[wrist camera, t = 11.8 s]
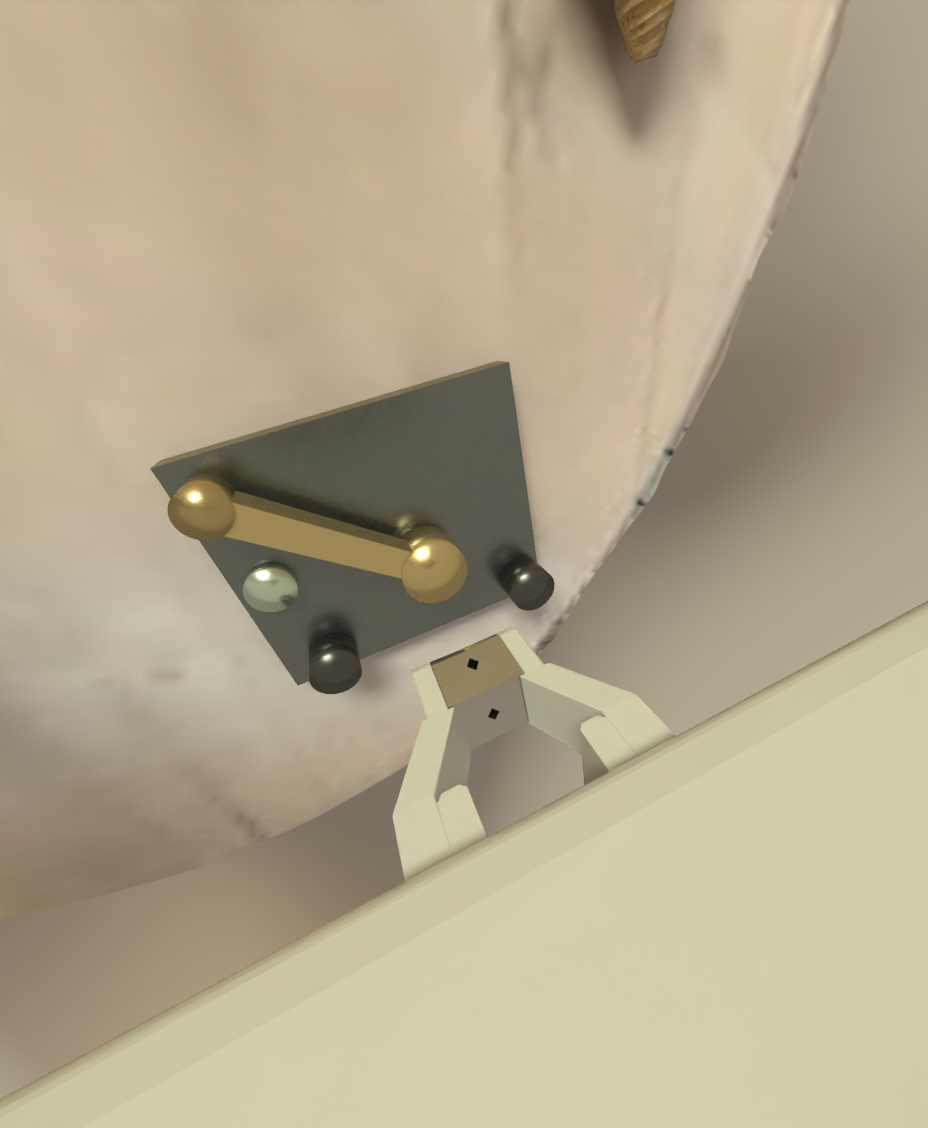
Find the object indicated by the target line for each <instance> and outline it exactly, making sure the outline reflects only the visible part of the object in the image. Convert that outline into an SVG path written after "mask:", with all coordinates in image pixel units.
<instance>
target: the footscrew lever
mask: <svg viewBox="0 0 928 1128" xmlns="http://www.w3.org/2000/svg"><path fill="white" fill-rule="evenodd" d="M168 516H169V519H170V521H171V523H172V524H173V525H174V527H175V528H176V529H177V530H179V531H180V532H181V533H183V534H184V535H186V536H188V537H191V538H193V539H197V540H214V539H218V538H221V537H222V536H225V537H229V538H233V539H237V540H242V541H246V542H250V543H254V544H258V545H263V546H267V547H271V548H275V549H279V550H284V551H288V552H292V553H296V554H300V555H305V556H309V557H313V558H317V559H321V560H326V561H330V562H334V563H338V564H342V565H346V566H351V567H355V568H359V569H363V570H367V571H372V572H376V573H380V574H384V575H388V576H393V577H397V578H401V580H402V582H403V584H404V587H405V589H406V591H407V593H408V594H409V595H410V596H411V597H412V598H414V599H415V600H417V601H419V602H423V603H438V602H442V601H444V600H447V599H448V598H450V597H452V596H453V595H455V594H456V593H457V592H458V591H459V590H460V588H461V587H462V586H463V584H464V582H465V580H466V577H467V572H468V567H467V562H466V559H465V557H464V555H463V554H462V553H461V551H460V550H459V549H458V548H457V546H456V545H455V544H454V543H453V541H452V540H451V539H450V537H449V536H448V535H447V534H446V533H445V532H444V531H443V530H441V529H439V528H437V527H434V526H419V527H416V528H413V529H411V530H410V531H408V532H407V533H405V534H404V535H403V536H402V537H401V538H397V537H393V536H390V535H387V534H383V533H380V532H376V531H373V530H369V529H366V528H363V527H359V526H356V525H352V524H349V523H345V522H342V521H338V520H335V519H332V518H328V517H325V516H321V515H318V514H314V513H311V512H308V511H304V510H301V509H297V508H294V507H290V506H287V505H284V504H280V503H277V502H273V501H270V500H266V499H263V498H260V497H256V496H253V495H249V494H246V493H242V492H239V491H237V490H236V489H235V487H234V486H233V485H232V484H231V483H230V482H228V481H227V480H225V479H223V478H221V477H219V476H215V475H210V474H201V475H196V476H193V477H191V478H190V479H188V480H187V481H186V482H185V483H184V484H183V485H182V486H181V487H180V489H179V490H178V491H177V492H176V493H175V494H174V495H173V497H172V498H171V499H170V501H169V504H168Z"/></svg>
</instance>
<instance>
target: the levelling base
mask: <svg viewBox="0 0 928 1128" xmlns="http://www.w3.org/2000/svg"><path fill="white" fill-rule="evenodd" d="M150 469H151V470H152V472H153V473H154V475H155V476H156V477H157V479H158V480H159V482H160V483H161V485H162V486H163V488H164V489H165V491H166V492H167V494H168V495H169V497H170V498H172V497H173V495H174V494H175V493H176V492H177V491H178V490H179V489H180V487H181V486H182V485H183V484H184V483H185V482H186V481H187V480H188V479H190V478H191V477H193V476H196V475H201V474H210V475H215V476H219V477H221V478H223V479H225V480H227V481H228V482H230V483H231V484H232V485H233V486H234V487H235V489H236V490H237V491H239V492H242V493H246V494H249V495H253V496H256V497H260V498H263V499H266V500H270V501H273V502H277V503H280V504H284V505H287V506H290V507H294V508H297V509H301V510H304V511H308V512H311V513H314V514H318V515H321V516H325V517H328V518H332V519H335V520H338V521H342V522H345V523H349V524H352V525H356V526H359V527H363V528H366V529H369V530H373V531H376V532H380V533H383V534H387V535H390V536H393V537H397V538H401V537H402V536H403V535H404V534H405V533H407V532H408V531H410V530H411V529H413V528H416V527H419V526H434V527H437V528H439V529H441V530H443V531H444V532H445V533H446V534H447V535H448V536H449V537H450V539H451V540H452V541H453V543H454V544H455V545H456V546H457V548H458V549H459V550H460V551H461V553H462V554H463V555H464V557H465V559H466V562H467V567H468V572H467V577H466V580H465V582H464V584H463V586H462V587H461V588H460V590H459V591H458V592H457V593H456V594H455V595H453V596H452V597H450V598H448V599H447V600H444V601H442V602H438V603H423V602H419V601H417V600H415V599H414V598H412V597H411V596H410V595H409V594H408V593H407V591H406V589H405V587H404V584H403V582H402V580H401V578H397V577H393V576H388V575H384V574H380V573H376V572H372V571H367V570H363V569H359V568H355V567H351V566H346V565H342V564H338V563H334V562H330V561H326V560H321V559H317V558H313V557H309V556H305V555H300V554H296V553H292V552H288V551H284V550H279V549H275V548H271V547H267V546H263V545H258V544H254V543H250V542H246V541H242V540H237V539H233V538H229V537H225V536H222V537H221V538H218V539H214V540H199V541H200V542H201V544H202V545H203V547H204V548H205V550H206V551H207V553H208V554H209V555H210V557H211V558H212V560H213V561H214V563H215V564H216V566H217V567H218V569H219V570H220V572H221V573H222V575H223V576H224V578H225V579H226V580H227V582H228V583H229V585H230V586H231V588H232V589H233V591H234V592H235V594H236V595H237V597H238V598H239V600H240V601H241V603H242V604H243V606H244V607H245V608H246V610H247V611H248V613H249V614H250V616H251V617H252V619H253V620H254V622H255V623H256V625H257V626H258V628H259V629H260V631H261V632H262V633H263V635H264V636H265V638H266V639H267V641H268V642H269V644H270V645H271V647H272V648H273V650H274V651H275V653H276V654H277V656H278V657H279V659H280V660H281V661H282V663H283V664H284V666H285V667H286V669H287V670H288V672H289V673H290V675H291V676H292V678H293V679H294V681H295V682H296V684H297V685H300V684H303V683H305V682H307V681H310V684H311V686H312V687H313V688H314V689H315V690H317V691H319V692H321V693H325V694H337V693H341V692H344V691H347V690H349V689H350V688H352V687H353V686H354V685H355V684H356V683H357V682H358V681H359V679H360V677H361V673H362V669H361V664H360V659H362V658H365V657H367V656H369V655H372V654H374V653H377V652H379V651H381V650H384V649H386V648H389V647H391V646H393V645H396V644H398V643H401V642H403V641H405V640H408V639H410V638H412V637H415V636H417V635H420V634H422V633H424V632H427V631H429V630H432V629H434V628H436V627H439V626H441V625H444V624H446V623H448V622H451V621H453V620H455V619H458V618H460V617H463V616H465V615H467V614H470V613H472V612H475V611H477V610H479V609H482V608H484V607H487V606H489V605H491V604H494V603H496V602H498V601H501V600H503V599H506V598H508V597H510V598H511V599H512V600H513V602H514V603H515V604H516V605H517V606H518V607H519V608H520V609H522V610H527V611H528V610H534V609H537V608H539V607H541V606H542V605H544V604H545V603H546V602H547V601H548V600H549V598H550V597H551V595H552V593H553V591H554V580H553V578H552V576H551V575H550V574H549V573H548V572H546V571H545V570H544V569H543V568H542V567H541V566H540V565H539V564H538V563H537V560H536V553H535V545H534V538H533V531H532V524H531V517H530V510H529V502H528V495H527V488H526V481H525V474H524V466H523V459H522V452H521V445H520V438H519V431H518V423H517V416H516V409H515V402H514V395H513V388H512V380H511V373H510V366H509V362H501V361H497V362H493V363H490V364H486V365H483V366H480V367H476V368H473V369H469V370H466V371H463V372H459V373H456V374H452V375H449V376H446V377H442V378H439V379H435V380H432V381H429V382H425V383H422V384H419V385H415V386H412V387H408V388H405V389H402V390H398V391H395V392H391V393H388V394H385V395H381V396H378V397H374V398H371V399H368V400H364V401H361V402H357V403H354V404H351V405H347V406H344V407H340V408H337V409H334V410H330V411H327V412H323V413H320V414H317V415H313V416H310V417H307V418H303V419H300V420H296V421H293V422H290V423H286V424H283V425H279V426H276V427H273V428H269V429H266V430H262V431H259V432H256V433H252V434H249V435H245V436H242V437H239V438H235V439H232V440H228V441H225V442H222V443H218V444H215V445H212V446H208V447H205V448H201V449H198V450H195V451H191V452H188V453H184V454H181V455H178V456H174V457H171V458H167V459H164V460H161V461H159V462H158V463H157V464H155V465H154V466H153V467H152V468H150Z"/></svg>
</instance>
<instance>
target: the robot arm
mask: <svg viewBox="0 0 928 1128" xmlns="http://www.w3.org/2000/svg"><path fill="white" fill-rule="evenodd" d="M412 676H413V679H414V682H415V685H416V687H417V690H418V693H419V696H420V699H421V702H422V705H423V708H424V711H425V714H426V717H427V719H426V720H424V721H422V723H421V726H420V729H419V732H418V735H417V739H416V742H415V745H414V748H413V752H412V755H411V758H410V761H409V764H408V768H407V771H406V774H405V777H404V780H403V784H402V787H401V790H400V793H399V796H398V800H397V803H396V806H395V810H394V813H393V821H394V826H395V831H396V837H397V842H398V847H399V852H400V858H401V863H402V868H403V873H404V879H405V882H404V883H402V884H400V885H398V886H396V887H394V888H392V889H391V890H389V891H387V892H385V893H383V894H381V895H379V896H378V897H376V898H374V899H372V900H370V901H368V902H366V903H365V904H363V905H361V906H359V907H357V908H355V909H354V910H352V911H350V912H348V913H346V914H344V915H342V916H341V917H339V918H337V919H335V920H333V921H331V922H329V923H328V924H326V925H324V926H322V927H320V928H318V929H317V930H314V931H313V932H311V933H309V934H307V935H305V936H303V937H301V938H300V939H298V940H296V941H294V942H292V943H290V944H288V945H287V946H285V947H283V948H281V949H279V950H277V951H275V952H273V953H272V954H270V955H268V956H266V957H264V958H262V959H260V960H259V961H257V962H255V963H253V964H251V965H250V966H247V967H246V968H244V969H242V970H240V971H238V972H236V973H234V974H233V975H231V976H229V977H227V978H225V979H223V980H221V981H219V982H218V983H216V984H214V985H212V986H210V987H208V988H207V989H205V990H203V991H201V992H199V993H197V994H195V995H194V996H191V997H190V998H188V999H186V1000H184V1001H182V1002H180V1003H179V1004H177V1005H175V1006H173V1007H171V1008H169V1009H167V1010H166V1011H164V1012H162V1013H160V1014H158V1015H156V1016H154V1017H152V1018H151V1019H149V1020H147V1021H145V1022H143V1023H141V1024H140V1025H138V1026H136V1027H134V1028H132V1029H130V1030H128V1031H126V1032H124V1033H123V1034H121V1035H119V1036H117V1037H115V1038H113V1039H111V1040H110V1041H108V1042H106V1043H104V1044H102V1045H100V1046H98V1047H96V1048H95V1049H93V1050H91V1051H89V1052H87V1053H85V1054H83V1055H82V1056H80V1057H78V1058H76V1059H74V1060H72V1061H70V1062H69V1063H67V1064H65V1065H63V1066H61V1067H59V1068H57V1069H56V1070H54V1071H52V1072H50V1073H48V1074H46V1075H45V1076H42V1077H40V1078H39V1079H37V1080H35V1081H33V1082H31V1083H29V1084H27V1085H26V1086H24V1087H22V1088H20V1089H18V1090H16V1091H14V1092H13V1093H11V1094H9V1095H7V1096H5V1097H3V1098H1V1099H0V1128H928V601H926V602H924V603H923V604H921V605H919V606H917V607H915V608H914V609H912V610H910V611H908V612H906V613H904V614H902V615H900V616H899V617H897V618H895V619H893V620H891V621H889V622H887V623H886V624H884V625H882V626H880V627H878V628H876V629H874V630H872V631H871V632H869V633H867V634H865V635H863V636H861V637H859V638H858V639H856V640H854V641H852V642H850V643H848V644H847V645H845V646H843V647H841V648H839V649H837V650H835V651H833V652H832V653H830V654H828V655H826V656H824V657H822V658H820V659H818V660H817V661H815V662H813V663H811V664H809V665H808V666H806V667H804V668H802V669H800V670H798V671H796V672H794V673H792V674H791V675H789V676H787V677H785V678H783V679H781V680H779V681H778V682H776V683H774V684H772V685H770V686H768V687H767V688H765V689H763V690H761V691H759V692H757V693H755V694H753V695H752V696H750V697H748V698H746V699H744V700H743V701H740V702H739V703H737V704H735V705H733V706H731V707H729V708H727V709H726V710H724V711H722V712H720V713H718V714H716V715H715V716H713V717H711V718H709V719H707V720H705V721H703V722H702V723H700V724H698V725H696V726H694V727H692V728H690V729H689V730H687V731H685V732H683V733H681V734H679V735H677V736H675V735H674V734H673V733H672V731H670V729H669V728H668V727H667V726H666V725H665V724H664V723H663V722H662V721H661V720H660V719H659V718H658V717H657V716H656V715H655V714H654V713H653V712H652V711H651V710H650V709H649V708H648V707H647V705H646V704H644V702H643V701H642V700H641V699H640V698H639V697H638V696H637V695H636V694H633V693H630V692H628V691H625V690H622V689H620V688H617V687H614V686H611V685H609V684H606V683H603V682H600V681H597V680H595V679H592V678H590V677H587V676H584V675H581V674H579V673H576V672H573V671H570V670H568V669H565V668H562V667H559V666H557V665H554V664H551V663H548V664H545V665H544V664H543V663H542V661H541V660H540V659H539V657H538V656H537V655H536V653H535V652H534V651H533V650H532V648H531V647H530V646H529V644H528V643H527V642H526V641H525V639H524V638H523V637H522V635H521V634H520V633H519V631H518V630H517V629H516V628H515V627H510V628H508V629H506V630H504V631H501V632H499V633H497V634H495V635H493V636H490V637H488V638H486V639H484V640H481V641H479V642H477V643H475V644H472V645H470V646H468V647H466V648H463V649H462V650H459V651H457V652H454V653H452V654H449V655H447V656H444V657H442V658H439V659H437V660H434V661H432V662H430V664H429V663H428V664H426V665H423V666H421V667H418V668H416V669H413V670H412ZM528 722H529V723H530V724H531V725H533V726H534V727H536V728H538V729H539V730H541V731H543V732H544V733H546V734H548V735H550V736H551V737H553V738H554V739H556V740H558V741H560V742H561V743H563V744H565V745H566V746H568V747H570V748H571V749H573V750H575V751H576V752H578V753H580V754H581V755H582V758H583V772H584V786H582V787H581V788H578V789H577V790H575V791H573V792H571V793H569V794H567V795H565V796H564V797H562V798H560V799H558V800H556V801H554V802H552V803H550V804H549V805H547V806H545V807H543V808H541V809H539V810H537V811H536V812H534V813H532V814H530V815H529V816H526V817H525V818H523V819H521V820H519V821H517V822H515V823H513V824H511V825H510V826H508V827H506V828H504V829H502V830H500V831H499V832H497V833H495V834H493V835H491V836H489V837H487V835H486V833H485V830H484V828H483V825H482V823H481V820H480V818H479V815H478V813H477V810H476V808H475V805H474V803H473V800H472V798H471V795H470V793H469V790H468V788H467V780H468V773H469V766H470V757H471V750H473V749H474V748H476V747H478V746H480V745H482V744H484V743H486V742H488V741H490V740H492V739H494V738H496V737H497V736H499V735H502V734H504V733H506V732H508V731H510V730H513V729H515V728H517V727H519V726H521V725H524V724H526V723H528Z"/></svg>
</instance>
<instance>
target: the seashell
mask: <svg viewBox="0 0 928 1128" xmlns="http://www.w3.org/2000/svg"><path fill="white" fill-rule="evenodd" d="M674 3H675V0H614V10H615V14H616V19H617V22H618V25H619V27H620V29H621V31H622V40H623V41H624V42H625V49H626V50H627V52H628V53H629V54H630V58H631V59H632V60H633V61H634V62H635V63H636V62H639V61H641V60H644V59H647V58H650V57H655V56H657V54H658V52H659V50H660V47H661V45H662V43H663V40H664V37H665V34H666V30H667V26H668V22H669V19H670V17H671V15H672V13H673V8H674Z"/></svg>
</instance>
